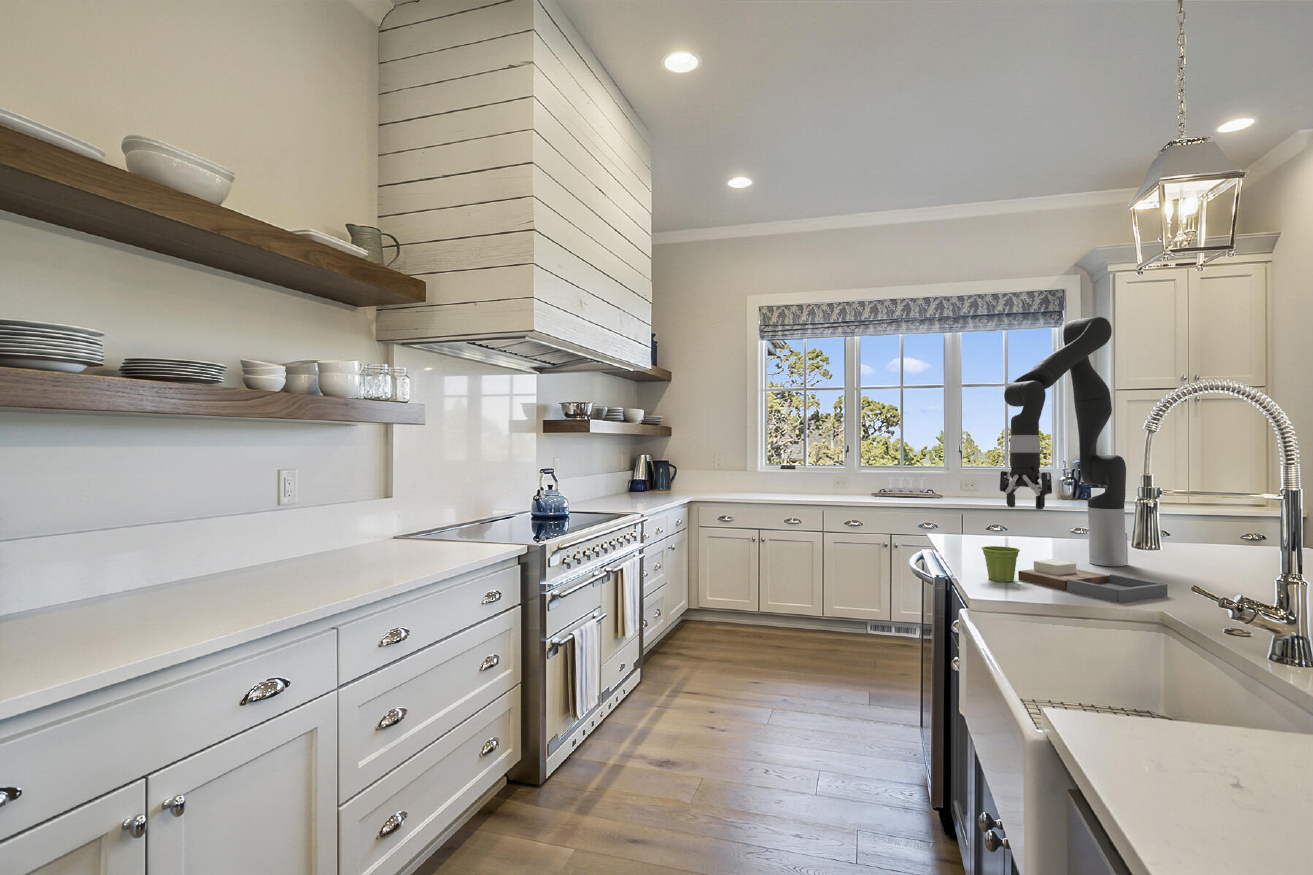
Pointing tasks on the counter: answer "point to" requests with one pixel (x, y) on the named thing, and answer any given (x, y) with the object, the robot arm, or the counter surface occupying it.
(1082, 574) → the brown square board
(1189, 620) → the counter surface
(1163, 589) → the tray
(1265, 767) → the counter surface
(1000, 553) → the plant pot
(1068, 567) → the tile
